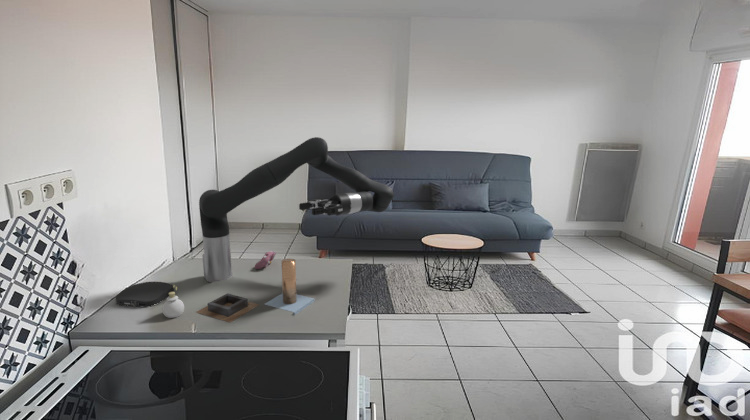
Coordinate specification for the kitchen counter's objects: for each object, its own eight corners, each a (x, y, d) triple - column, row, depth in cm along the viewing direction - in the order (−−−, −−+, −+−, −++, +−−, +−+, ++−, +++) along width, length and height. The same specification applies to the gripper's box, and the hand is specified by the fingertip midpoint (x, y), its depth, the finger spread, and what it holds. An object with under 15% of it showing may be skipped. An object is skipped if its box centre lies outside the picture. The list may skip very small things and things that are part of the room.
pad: (264, 307, 140) (264, 304, 140) (285, 294, 150) (285, 291, 149) (294, 315, 135) (294, 312, 135) (314, 301, 145) (314, 298, 144)
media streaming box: (178, 290, 152) (177, 282, 152) (152, 309, 138) (151, 300, 138) (140, 287, 154) (139, 279, 153) (110, 305, 140) (109, 297, 139)
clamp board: (196, 314, 134) (195, 304, 133) (227, 298, 146) (226, 289, 145) (230, 325, 128) (229, 314, 127) (259, 307, 140) (259, 297, 139)
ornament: (160, 322, 130) (156, 291, 127) (170, 310, 137) (166, 281, 134) (180, 322, 130) (177, 291, 127) (189, 310, 137) (186, 281, 135)
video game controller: (263, 274, 171) (270, 259, 169) (253, 268, 171) (259, 253, 169) (272, 265, 180) (279, 251, 178) (263, 259, 180) (269, 245, 178)
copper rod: (280, 302, 141) (278, 261, 138) (288, 297, 145) (287, 257, 142) (291, 305, 139) (289, 264, 136) (299, 300, 143) (298, 260, 140)
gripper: (335, 190, 159) (295, 194, 149) (357, 196, 148) (316, 202, 138) (335, 209, 161) (295, 215, 151) (357, 218, 150) (316, 225, 140)
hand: (305, 209), depth 145 cm, fingers open, 8 cm apart
